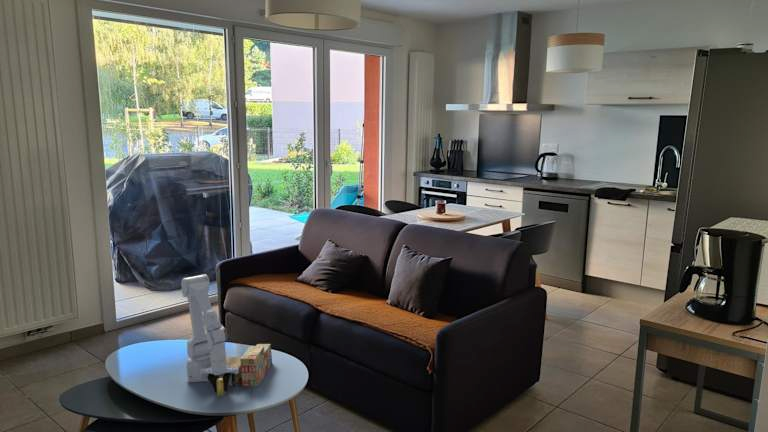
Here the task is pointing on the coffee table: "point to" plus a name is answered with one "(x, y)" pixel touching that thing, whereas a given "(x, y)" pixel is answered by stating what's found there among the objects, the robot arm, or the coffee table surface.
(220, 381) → the cube joystick
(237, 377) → the open wooden box
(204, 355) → the robot arm
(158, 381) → the coffee table surface
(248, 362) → the stack of blocks
